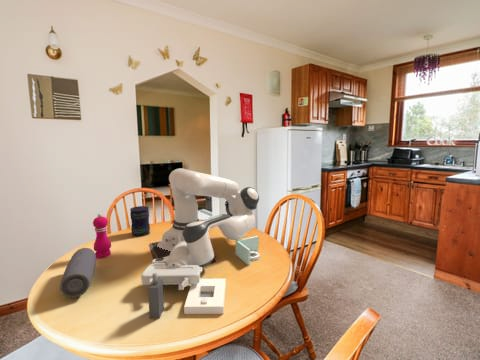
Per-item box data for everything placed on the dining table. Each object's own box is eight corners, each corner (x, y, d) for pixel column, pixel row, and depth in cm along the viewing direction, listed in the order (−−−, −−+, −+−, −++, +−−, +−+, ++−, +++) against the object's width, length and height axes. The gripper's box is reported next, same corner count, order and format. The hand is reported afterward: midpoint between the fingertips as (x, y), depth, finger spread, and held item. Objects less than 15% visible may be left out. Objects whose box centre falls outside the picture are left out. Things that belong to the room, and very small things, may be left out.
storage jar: (146, 237, 141) (144, 210, 138) (128, 236, 141) (126, 210, 138) (152, 230, 150) (151, 206, 148) (136, 230, 151) (134, 206, 148)
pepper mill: (98, 252, 122) (95, 211, 118) (114, 251, 122) (111, 211, 119) (91, 259, 114) (87, 216, 111) (108, 258, 115) (104, 215, 112)
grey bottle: (154, 308, 81) (152, 270, 79) (163, 308, 81) (162, 270, 79) (149, 318, 76) (147, 278, 74) (159, 318, 76) (157, 278, 74)
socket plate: (193, 284, 94) (192, 277, 94) (225, 284, 94) (225, 277, 94) (184, 314, 78) (184, 304, 78) (223, 313, 78) (223, 304, 78)
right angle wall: (248, 266, 109) (248, 250, 108) (235, 255, 120) (235, 240, 118) (271, 260, 115) (271, 244, 114) (257, 250, 125) (257, 235, 124)
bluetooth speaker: (72, 271, 103) (69, 248, 102) (98, 267, 107) (96, 244, 106) (59, 304, 83) (56, 275, 81) (92, 297, 87) (89, 269, 85)
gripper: (203, 274, 97) (198, 296, 84) (149, 274, 97) (136, 297, 83) (203, 258, 96) (197, 278, 83) (148, 259, 96) (134, 279, 82)
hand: (166, 288), depth 83 cm, fingers open, 8 cm apart
